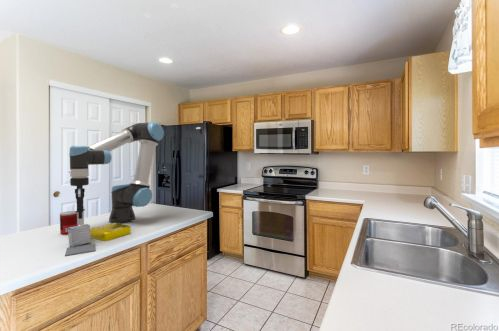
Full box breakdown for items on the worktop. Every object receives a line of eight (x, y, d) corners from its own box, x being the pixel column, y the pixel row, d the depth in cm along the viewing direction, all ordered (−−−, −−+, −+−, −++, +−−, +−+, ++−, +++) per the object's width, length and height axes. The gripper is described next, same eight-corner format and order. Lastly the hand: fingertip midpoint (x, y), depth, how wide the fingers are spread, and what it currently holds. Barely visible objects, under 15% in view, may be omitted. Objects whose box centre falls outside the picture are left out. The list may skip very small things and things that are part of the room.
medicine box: (88, 241, 124) (86, 224, 124) (91, 242, 121) (90, 224, 121) (69, 246, 118) (67, 227, 118) (72, 247, 115) (70, 228, 115)
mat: (95, 244, 120) (95, 243, 120) (95, 251, 112) (95, 250, 112) (67, 248, 115) (67, 247, 115) (64, 256, 107) (64, 255, 107)
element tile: (105, 242, 124) (104, 232, 124) (88, 237, 132) (87, 228, 132) (132, 233, 138) (132, 225, 137) (115, 229, 145) (115, 221, 145)
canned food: (81, 230, 140) (81, 211, 140) (67, 235, 133) (67, 214, 132) (71, 229, 142) (70, 210, 142) (56, 234, 135) (56, 213, 134)
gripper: (71, 176, 128) (72, 222, 129) (68, 178, 116) (70, 229, 118) (88, 175, 132) (89, 220, 133) (88, 178, 120) (89, 226, 122)
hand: (80, 224), depth 125 cm, fingers closed
